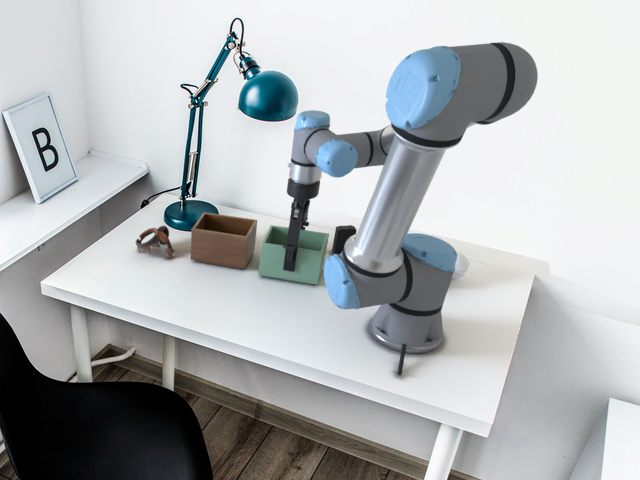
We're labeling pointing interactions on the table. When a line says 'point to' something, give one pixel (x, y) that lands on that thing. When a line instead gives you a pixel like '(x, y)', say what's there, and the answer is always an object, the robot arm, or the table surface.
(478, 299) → the table surface
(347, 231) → the ink cartridge
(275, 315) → the table surface
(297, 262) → the box
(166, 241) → the brown headphones
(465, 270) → the puffin
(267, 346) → the table surface
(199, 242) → the bottom basket
